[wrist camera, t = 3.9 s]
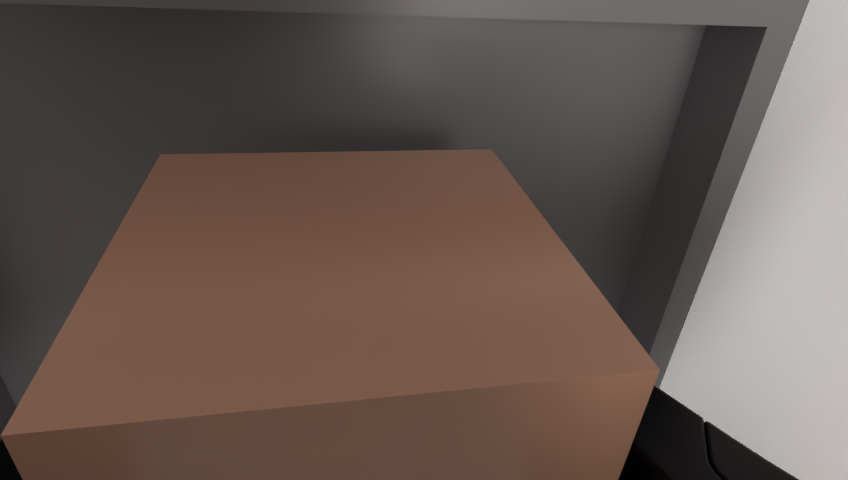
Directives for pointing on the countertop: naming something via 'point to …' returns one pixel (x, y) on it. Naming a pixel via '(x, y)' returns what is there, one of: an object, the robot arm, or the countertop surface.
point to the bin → (385, 123)
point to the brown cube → (335, 332)
